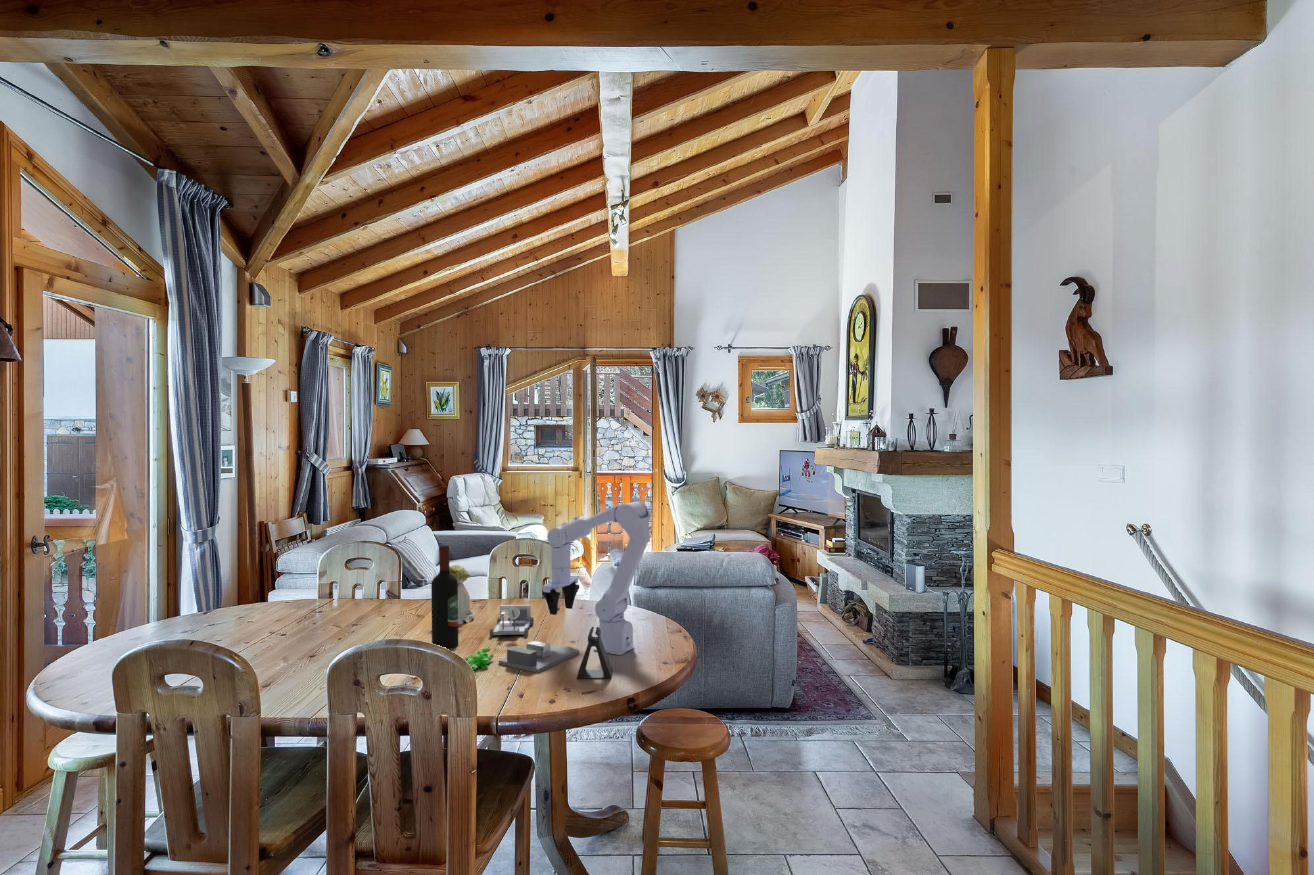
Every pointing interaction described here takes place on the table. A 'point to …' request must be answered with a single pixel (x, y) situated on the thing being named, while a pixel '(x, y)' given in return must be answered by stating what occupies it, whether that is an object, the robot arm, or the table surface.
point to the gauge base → (547, 660)
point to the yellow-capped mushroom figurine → (462, 594)
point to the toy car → (513, 620)
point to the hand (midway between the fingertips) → (561, 611)
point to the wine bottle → (445, 604)
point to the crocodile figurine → (479, 659)
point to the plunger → (539, 648)
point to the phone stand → (603, 658)
